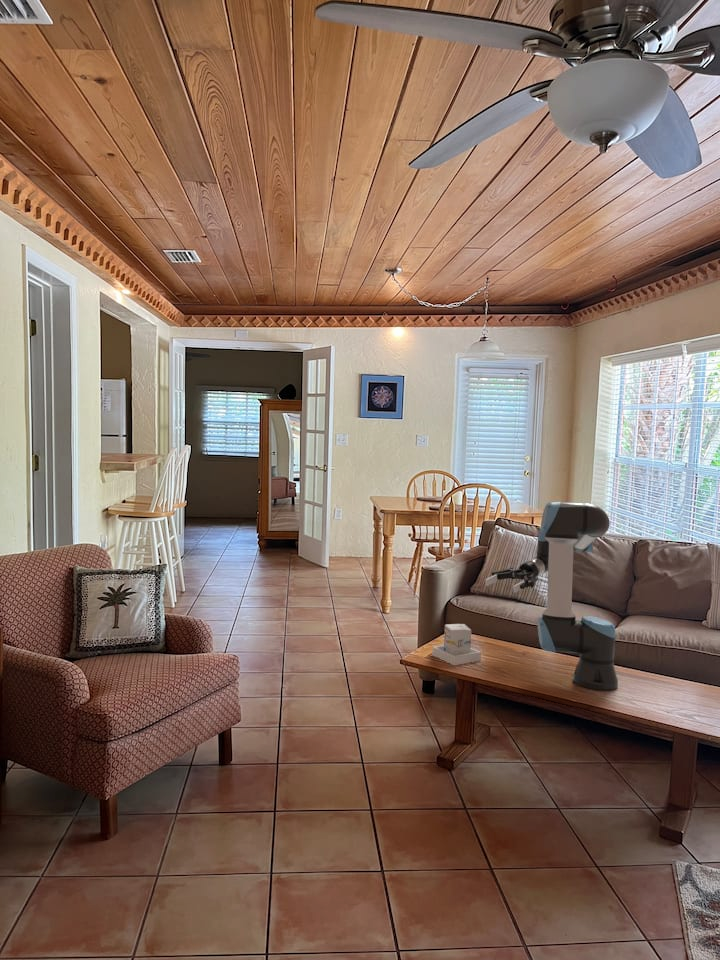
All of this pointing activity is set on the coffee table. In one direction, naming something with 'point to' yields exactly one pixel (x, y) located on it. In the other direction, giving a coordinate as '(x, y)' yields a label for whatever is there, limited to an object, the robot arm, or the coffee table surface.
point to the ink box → (457, 639)
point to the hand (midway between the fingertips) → (499, 586)
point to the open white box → (456, 660)
